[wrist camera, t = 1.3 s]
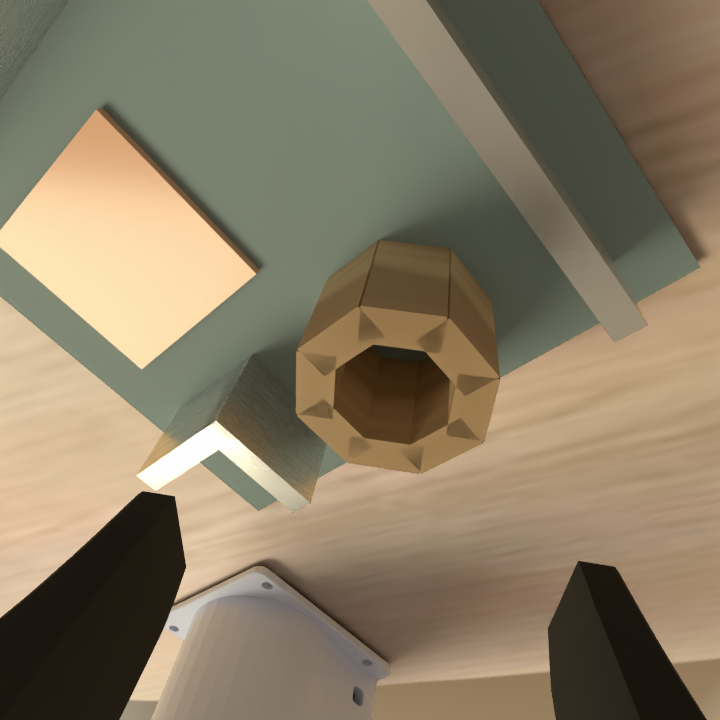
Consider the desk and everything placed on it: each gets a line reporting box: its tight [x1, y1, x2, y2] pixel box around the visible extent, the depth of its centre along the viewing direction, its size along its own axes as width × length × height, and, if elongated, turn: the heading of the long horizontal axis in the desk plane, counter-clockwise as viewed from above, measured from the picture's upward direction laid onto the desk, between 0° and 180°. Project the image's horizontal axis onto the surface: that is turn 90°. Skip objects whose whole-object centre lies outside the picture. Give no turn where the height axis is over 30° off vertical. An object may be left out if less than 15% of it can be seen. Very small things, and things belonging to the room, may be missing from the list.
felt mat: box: [0, 0, 700, 511], centre depth 17 cm, size 18×18×1 cm
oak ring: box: [296, 240, 500, 474], centre depth 16 cm, size 5×5×4 cm
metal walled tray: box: [0, 0, 648, 513], centre depth 15 cm, size 15×15×4 cm
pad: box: [0, 107, 259, 369], centre depth 18 cm, size 6×6×1 cm
